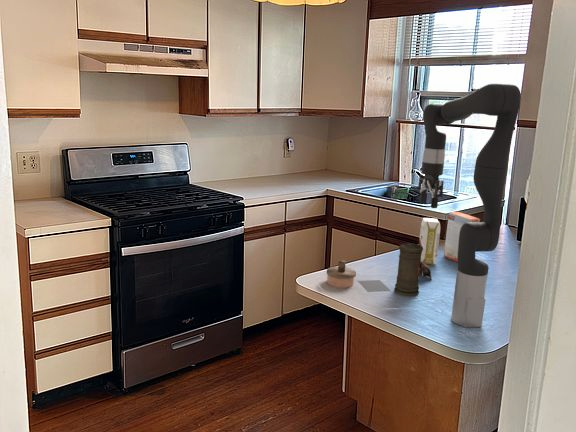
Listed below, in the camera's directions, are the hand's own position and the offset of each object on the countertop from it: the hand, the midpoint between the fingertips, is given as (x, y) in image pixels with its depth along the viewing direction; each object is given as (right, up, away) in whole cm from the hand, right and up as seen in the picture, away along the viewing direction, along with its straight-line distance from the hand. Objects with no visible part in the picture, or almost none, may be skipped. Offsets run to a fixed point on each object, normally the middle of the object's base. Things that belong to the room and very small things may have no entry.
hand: (428, 205), depth 195 cm
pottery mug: (+1, -29, +19) cm, 35 cm away
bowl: (-31, -30, +8) cm, 44 cm away
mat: (-19, -30, +7) cm, 36 cm away
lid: (-31, -26, +7) cm, 41 cm away
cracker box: (+25, -24, +44) cm, 56 cm away
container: (-8, -32, +2) cm, 33 cm away
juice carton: (+10, -24, +40) cm, 48 cm away
